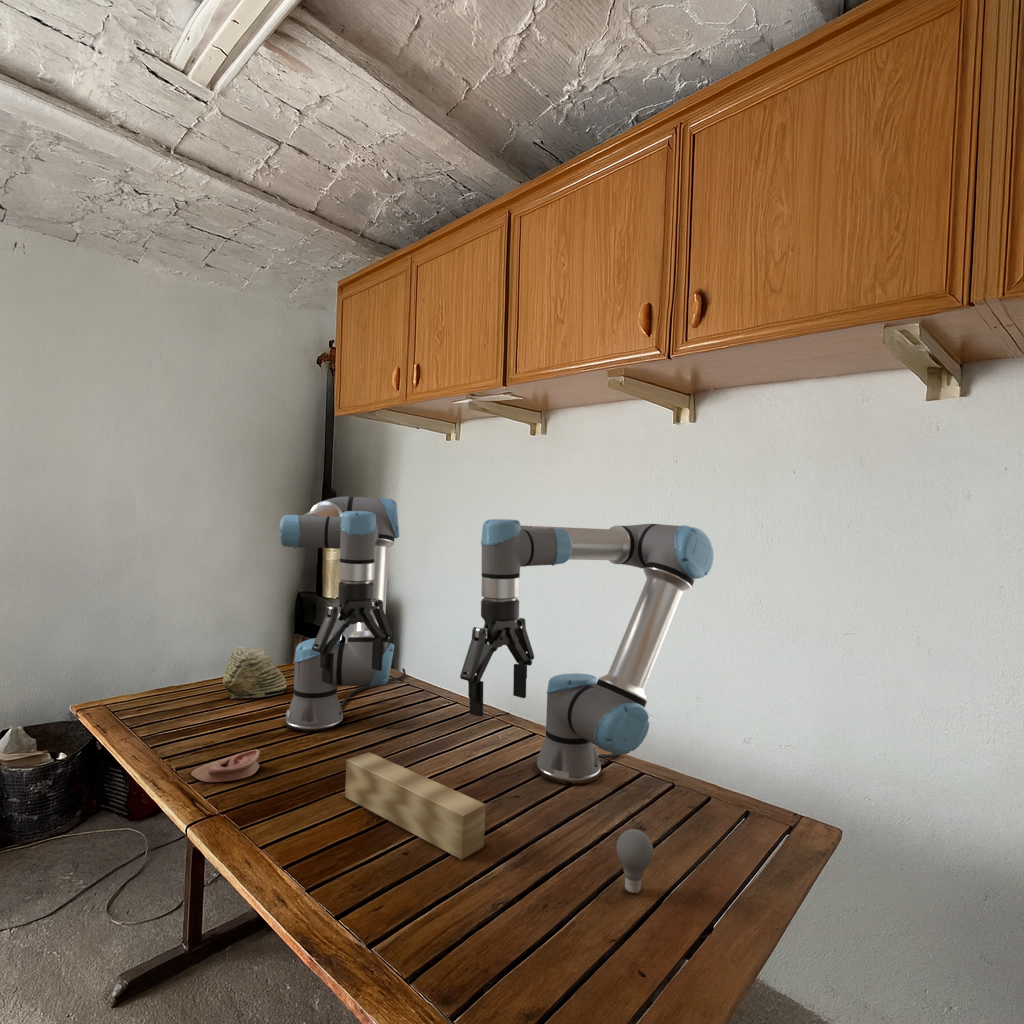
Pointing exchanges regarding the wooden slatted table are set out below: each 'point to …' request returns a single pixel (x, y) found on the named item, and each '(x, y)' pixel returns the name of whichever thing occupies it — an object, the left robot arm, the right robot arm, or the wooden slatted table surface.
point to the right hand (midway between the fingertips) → (498, 705)
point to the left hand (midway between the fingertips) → (352, 675)
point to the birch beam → (417, 804)
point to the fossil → (252, 674)
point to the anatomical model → (229, 768)
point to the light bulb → (634, 857)
